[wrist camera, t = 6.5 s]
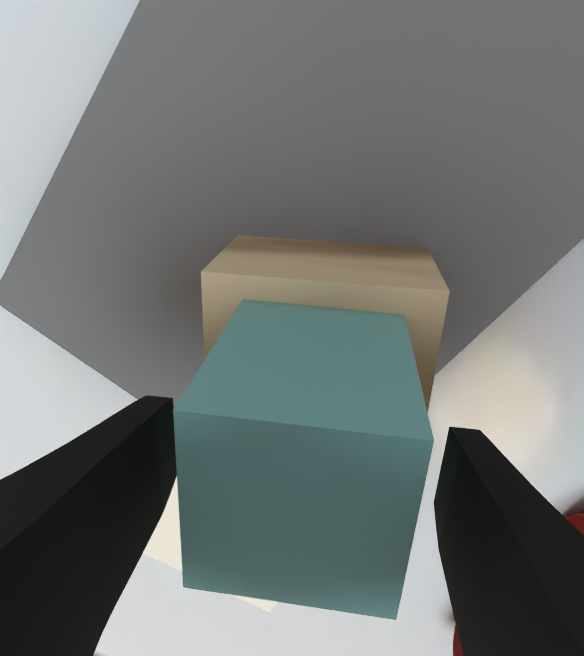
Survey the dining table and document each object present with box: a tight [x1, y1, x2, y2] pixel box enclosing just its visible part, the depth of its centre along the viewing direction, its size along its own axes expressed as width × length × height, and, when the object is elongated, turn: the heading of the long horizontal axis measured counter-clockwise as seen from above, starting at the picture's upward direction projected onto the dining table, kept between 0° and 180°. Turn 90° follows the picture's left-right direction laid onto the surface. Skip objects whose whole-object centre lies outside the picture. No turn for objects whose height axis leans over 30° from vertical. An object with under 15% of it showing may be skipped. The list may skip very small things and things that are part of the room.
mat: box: [0, 0, 584, 408], centre depth 15 cm, size 20×14×1 cm
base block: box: [201, 235, 450, 412], centre depth 15 cm, size 6×6×4 cm
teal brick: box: [173, 299, 434, 620], centre depth 10 cm, size 4×4×5 cm
